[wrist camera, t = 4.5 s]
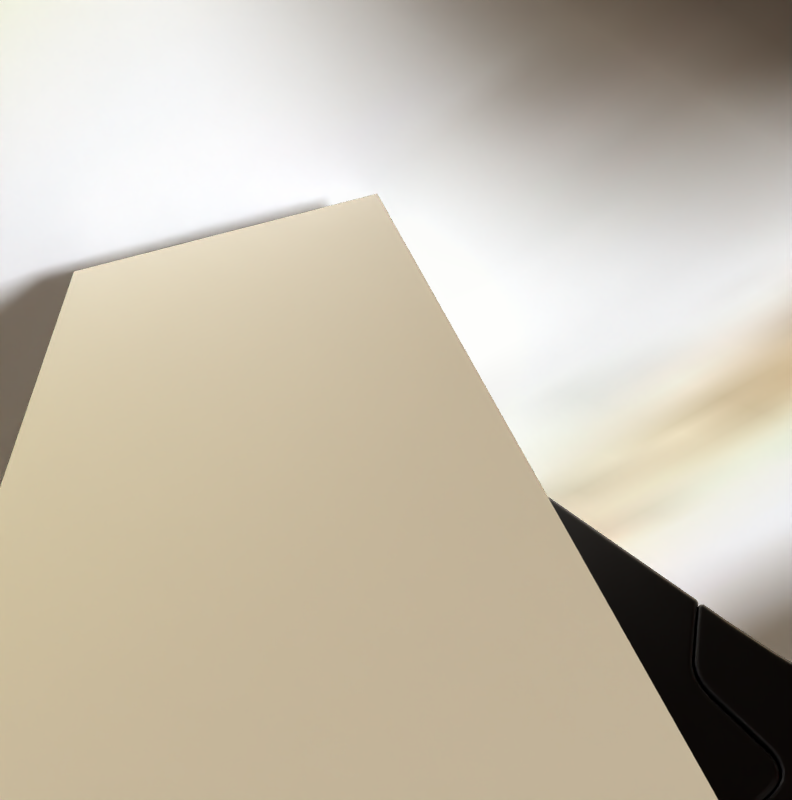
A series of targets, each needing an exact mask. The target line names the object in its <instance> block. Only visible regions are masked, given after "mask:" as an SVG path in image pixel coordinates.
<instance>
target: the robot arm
mask: <svg viewBox="0 0 792 800" xmlns="http://www.w3.org/2000/svg"><path fill="white" fill-rule="evenodd" d="M548 498H549V497H548ZM549 500H550V502H551V504H552V505H553V507H554V509H555V511H556V512H557V514H558V516H559V518H560V520H561V521H562V523H563V525H564V527H565V528H566V530H567V532H568V534H569V536H570V537H571V539H572V541H573V543H574V544H575V546H576V548H577V550H578V552H579V553H580V555H581V557H582V559H583V560H584V562H585V564H586V566H587V568H588V569H589V571H590V573H591V575H592V576H593V578H594V580H595V582H596V584H597V585H598V587H599V589H600V591H601V592H602V594H603V596H604V598H605V600H606V601H607V603H608V605H609V607H610V608H611V610H612V612H613V614H614V616H615V617H616V619H617V621H618V623H619V624H620V626H621V628H622V630H623V632H624V633H625V635H626V637H627V639H628V640H629V642H630V644H631V646H632V648H633V649H634V651H635V653H636V655H637V656H638V658H639V660H640V662H641V663H642V665H643V667H644V669H645V671H646V672H647V674H648V676H649V678H650V679H651V681H652V683H653V685H654V687H655V688H656V690H657V692H658V694H659V695H660V697H661V699H662V701H663V703H664V704H665V706H666V708H667V710H668V711H669V713H670V715H671V717H672V719H673V720H674V722H675V724H676V726H677V727H678V729H679V731H680V733H681V735H682V736H683V738H684V740H685V742H686V743H687V745H688V747H689V749H690V751H691V752H692V754H693V756H694V758H695V759H696V761H697V763H698V765H699V767H700V768H701V770H702V772H703V774H704V775H705V777H706V779H707V781H708V783H709V784H710V786H711V788H712V790H713V791H714V793H715V795H716V797H717V799H718V800H792V663H791V662H790V661H788V660H786V659H785V658H783V657H781V656H779V655H778V654H776V653H775V652H773V651H771V650H770V649H768V648H767V647H765V646H764V645H762V644H761V643H759V642H758V641H756V640H755V639H753V638H752V637H750V636H749V635H747V634H746V633H744V632H743V631H741V630H740V629H738V628H737V627H735V626H734V625H732V624H731V623H729V622H728V621H726V620H725V619H723V618H722V617H720V616H719V615H718V614H716V613H715V612H713V611H712V610H710V609H709V608H708V607H706V606H705V605H700V606H698V602H697V600H696V599H694V598H693V597H691V596H690V595H689V594H687V593H686V592H684V591H683V590H681V589H680V588H678V587H677V586H676V585H674V584H673V583H671V582H670V581H668V580H667V579H666V578H664V577H663V576H661V575H660V574H658V573H657V572H655V571H654V570H653V569H651V568H650V567H648V566H647V565H645V564H644V563H643V562H641V561H640V560H638V559H637V558H635V557H634V556H632V555H631V554H630V553H628V552H627V551H625V550H624V549H622V548H621V547H620V546H618V545H617V544H615V543H614V542H612V541H611V540H609V539H608V538H607V537H605V536H604V535H602V534H601V533H599V532H598V531H597V530H595V529H594V528H592V527H591V526H589V525H588V524H586V523H585V522H584V521H582V520H581V519H579V518H578V517H576V516H575V515H574V514H572V513H571V512H569V511H568V510H566V509H565V508H563V507H562V506H561V505H559V504H558V503H556V502H555V501H553V500H552V499H551V498H549Z"/></svg>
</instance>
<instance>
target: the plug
mask: <svg viewBox="0 0 792 800" xmlns="http://www.w3.org/2000/svg"><path fill="white" fill-rule="evenodd" d="M0 800H718V799H717V797H716V795H715V793H714V791H713V790H712V788H711V786H710V784H709V783H708V781H707V779H706V777H705V775H704V774H703V772H702V770H701V768H700V767H699V765H698V763H697V761H696V759H695V758H694V756H693V754H692V752H691V751H690V749H689V747H688V745H687V743H686V742H685V740H684V738H683V736H682V735H681V733H680V731H679V729H678V727H677V726H676V724H675V722H674V720H673V719H672V717H671V715H670V713H669V711H668V710H667V708H666V706H665V704H664V703H663V701H662V699H661V697H660V695H659V694H658V692H657V690H656V688H655V687H654V685H653V683H652V681H651V679H650V678H649V676H648V674H647V672H646V671H645V669H644V667H643V665H642V663H641V662H640V660H639V658H638V656H637V655H636V653H635V651H634V649H633V648H632V646H631V644H630V642H629V640H628V639H627V637H626V635H625V633H624V632H623V630H622V628H621V626H620V624H619V623H618V621H617V619H616V617H615V616H614V614H613V612H612V610H611V608H610V607H609V605H608V603H607V601H606V600H605V598H604V596H603V594H602V592H601V591H600V589H599V587H598V585H597V584H596V582H595V580H594V578H593V576H592V575H591V573H590V571H589V569H588V568H587V566H586V564H585V562H584V560H583V559H582V557H581V555H580V553H579V552H578V550H577V548H576V546H575V544H574V543H573V541H572V539H571V537H570V536H569V534H568V532H567V530H566V528H565V527H564V525H563V523H562V521H561V520H560V518H559V516H558V514H557V512H556V511H555V509H554V507H553V505H552V504H551V502H550V500H549V498H548V496H547V495H546V493H545V491H544V489H543V488H542V486H541V484H540V482H539V480H538V479H537V477H536V475H535V473H534V472H533V470H532V468H531V466H530V464H529V463H528V461H527V459H526V457H525V456H524V454H523V452H522V450H521V448H520V447H519V445H518V443H517V441H516V440H515V438H514V436H513V434H512V432H511V431H510V429H509V427H508V425H507V424H506V422H505V420H504V418H503V416H502V415H501V413H500V411H499V409H498V408H497V406H496V404H495V402H494V400H493V399H492V397H491V395H490V393H489V392H488V390H487V388H486V386H485V384H484V383H483V381H482V379H481V377H480V376H479V374H478V372H477V370H476V369H475V367H474V365H473V363H472V361H471V360H470V358H469V356H468V354H467V353H466V351H465V349H464V347H463V345H462V344H461V342H460V340H459V338H458V337H457V335H456V333H455V331H454V329H453V328H452V326H451V324H450V322H449V321H448V319H447V317H446V315H445V313H444V312H443V310H442V308H441V306H440V305H439V303H438V301H437V299H436V297H435V296H434V294H433V292H432V290H431V289H430V287H429V285H428V283H427V281H426V280H425V278H424V276H423V274H422V273H421V271H420V269H419V267H418V265H417V264H416V262H415V260H414V258H413V257H412V255H411V253H410V251H409V249H408V248H407V246H406V244H405V242H404V241H403V239H402V237H401V235H400V233H399V232H398V230H397V228H396V226H395V225H394V223H393V221H392V219H391V217H390V216H389V214H388V212H387V210H386V209H385V207H384V205H383V203H382V201H381V200H380V198H379V196H378V194H374V195H370V196H366V197H362V198H358V199H354V200H350V201H347V202H343V203H339V204H335V205H331V206H327V207H323V208H319V209H315V210H312V211H308V212H304V213H300V214H296V215H292V216H288V217H284V218H280V219H276V220H273V221H269V222H265V223H261V224H257V225H253V226H249V227H245V228H241V229H238V230H234V231H230V232H226V233H222V234H218V235H214V236H210V237H206V238H202V239H199V240H195V241H191V242H187V243H183V244H179V245H175V246H171V247H167V248H164V249H160V250H156V251H152V252H148V253H144V254H140V255H136V256H132V257H129V258H125V259H121V260H117V261H113V262H109V263H105V264H101V265H97V266H93V267H90V268H86V269H82V270H78V271H74V273H73V276H72V279H71V282H70V285H69V288H68V291H67V293H66V296H65V299H64V302H63V305H62V308H61V311H60V314H59V317H58V320H57V323H56V326H55V328H54V331H53V334H52V337H51V340H50V343H49V346H48V349H47V352H46V355H45V358H44V361H43V363H42V366H41V369H40V372H39V375H38V378H37V381H36V384H35V387H34V390H33V393H32V396H31V398H30V401H29V404H28V407H27V410H26V413H25V416H24V419H23V422H22V425H21V428H20V430H19V433H18V436H17V439H16V442H15V445H14V448H13V451H12V454H11V457H10V460H9V463H8V465H7V468H6V471H5V474H4V477H3V480H2V483H1V486H0Z"/></svg>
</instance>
